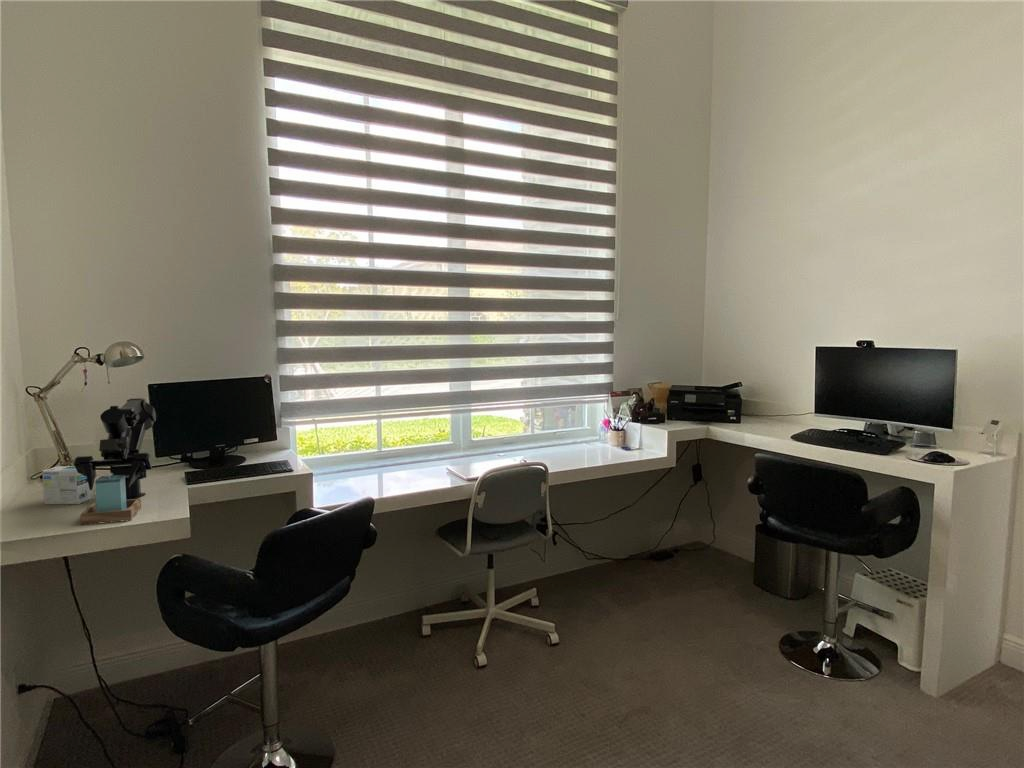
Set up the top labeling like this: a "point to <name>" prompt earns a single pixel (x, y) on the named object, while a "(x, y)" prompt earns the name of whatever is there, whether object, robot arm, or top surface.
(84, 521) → the tray
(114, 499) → the light blue block
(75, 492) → the light bulb box
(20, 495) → the top surface
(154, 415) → the robot arm
